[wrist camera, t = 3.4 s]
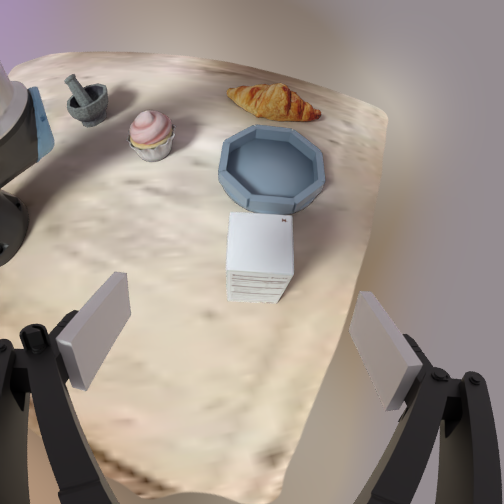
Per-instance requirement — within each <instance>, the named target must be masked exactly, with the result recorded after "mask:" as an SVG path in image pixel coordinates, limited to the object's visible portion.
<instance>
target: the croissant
mask: <svg viewBox="0 0 504 504" xmlns="http://www.w3.org/2000/svg"><path fill="white" fill-rule="evenodd" d="M227 95H228V97H229V98H230V99H231V100H233V101H234V102H235V103H236V104H237V105H238V106H240V107H242V108H243V109H245V110H246V111H248V112H250V113H252V114H253V115H255V116H256V117H265V118H267V119H270V120H276V121H311V120H315V119H319V118H320V116H321V111H320V110H316V109H313V107H312V105H310V104H309V103H308V102H305V101H303V100H302V99H301V98H300V97H299V96H298V95H297V94H296V92H293V91H290V89H289V88H288V87H287V86H286V85H285V84H282V83H277V84H272V85H267V84H259V85H255V86H241V87H237V88H229V89H228V90H227Z"/></svg>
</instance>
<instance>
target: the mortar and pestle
mask: <svg viewBox="0 0 504 504" xmlns="http://www.w3.org/2000/svg"><path fill="white" fill-rule="evenodd" d="M64 82H65V84H67V85H68V87H69V88H70V90H71V92H72V94H73V95H72V96H71V97H70V99H69V100H68V101H67V109H68V112H69V113H70V115H71V116H72V117H73V118H75V119H77V120H79V121H81V122H82V124H83V126H85V127H87V128H88V127H93V126H96V125H98V124H99V123H101V122H102V121H103V120H104V119H105V118H106V111H105V109H106V108H107V105H108V94H107V88H106V86H105V85H102V84H93V85H89V86H86V87H84V88H83V87H82V86H81V84H80V83H79V82H78V81H77V79H76V76H75V74H72V75H70V76H69V77H67V78H66V79H65V81H64Z"/></svg>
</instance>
